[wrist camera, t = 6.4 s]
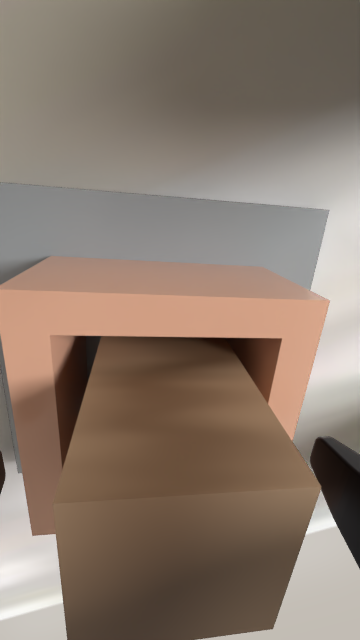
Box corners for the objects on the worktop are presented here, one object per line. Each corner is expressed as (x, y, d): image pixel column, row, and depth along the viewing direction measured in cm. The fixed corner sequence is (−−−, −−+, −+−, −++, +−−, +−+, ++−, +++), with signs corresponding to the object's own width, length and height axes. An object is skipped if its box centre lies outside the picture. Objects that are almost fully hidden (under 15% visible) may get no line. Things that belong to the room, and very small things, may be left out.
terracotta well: (316, 209, 13) (441, 212, 8) (263, 447, 18) (316, 552, 13) (-17, 181, 11) (-167, 159, 6) (24, 457, 16) (-35, 588, 11)
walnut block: (209, 312, 13) (321, 486, 5) (199, 395, 15) (273, 628, 7) (108, 309, 13) (52, 504, 4) (109, 396, 14) (69, 657, 6)
